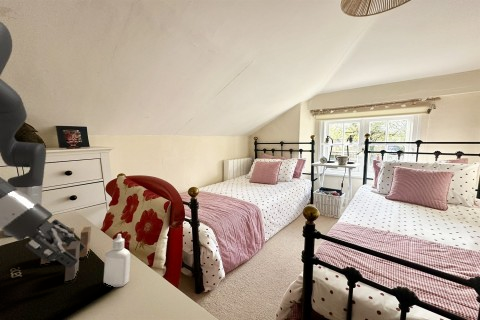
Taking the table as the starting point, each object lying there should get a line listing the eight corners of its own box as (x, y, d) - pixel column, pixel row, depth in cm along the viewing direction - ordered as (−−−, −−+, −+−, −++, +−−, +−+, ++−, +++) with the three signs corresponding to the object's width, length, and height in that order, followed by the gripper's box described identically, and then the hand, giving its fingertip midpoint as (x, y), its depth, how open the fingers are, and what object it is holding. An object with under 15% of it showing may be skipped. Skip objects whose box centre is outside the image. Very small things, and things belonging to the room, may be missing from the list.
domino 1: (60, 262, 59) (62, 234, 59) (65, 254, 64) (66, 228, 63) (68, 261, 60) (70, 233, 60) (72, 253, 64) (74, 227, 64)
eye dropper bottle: (111, 292, 48) (114, 240, 48) (101, 282, 52) (104, 233, 51) (130, 283, 52) (133, 235, 52) (120, 274, 55) (123, 229, 55)
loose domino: (64, 282, 50) (66, 249, 50) (69, 272, 55) (71, 241, 55) (74, 280, 51) (76, 248, 51) (78, 270, 56) (80, 240, 56)
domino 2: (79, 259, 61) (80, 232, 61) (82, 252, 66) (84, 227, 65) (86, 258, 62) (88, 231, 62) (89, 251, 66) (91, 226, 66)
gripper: (22, 210, 43) (86, 256, 48) (46, 196, 56) (95, 235, 61) (-18, 238, 40) (55, 284, 46) (17, 218, 53) (71, 256, 58)
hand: (78, 256), depth 53 cm, fingers open, 8 cm apart
